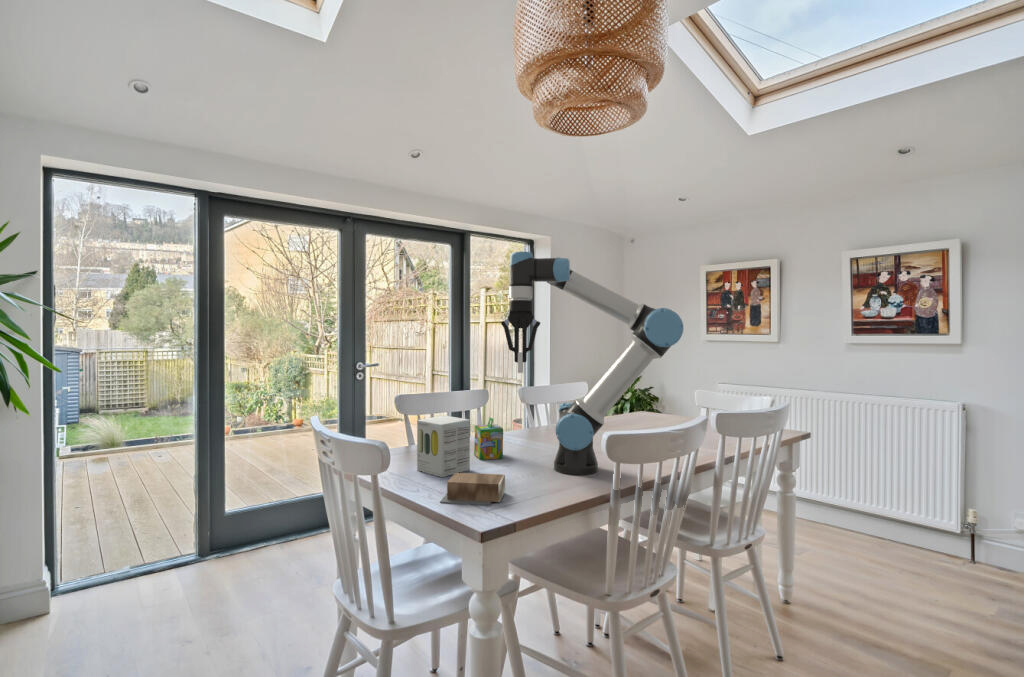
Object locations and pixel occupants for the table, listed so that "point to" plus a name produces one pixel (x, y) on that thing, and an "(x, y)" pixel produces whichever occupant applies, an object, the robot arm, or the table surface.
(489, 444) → the chalk box
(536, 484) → the table surface
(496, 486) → the walnut block
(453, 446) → the supplement box
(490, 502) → the mat
